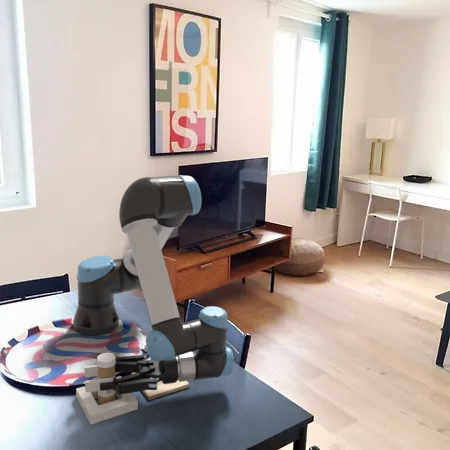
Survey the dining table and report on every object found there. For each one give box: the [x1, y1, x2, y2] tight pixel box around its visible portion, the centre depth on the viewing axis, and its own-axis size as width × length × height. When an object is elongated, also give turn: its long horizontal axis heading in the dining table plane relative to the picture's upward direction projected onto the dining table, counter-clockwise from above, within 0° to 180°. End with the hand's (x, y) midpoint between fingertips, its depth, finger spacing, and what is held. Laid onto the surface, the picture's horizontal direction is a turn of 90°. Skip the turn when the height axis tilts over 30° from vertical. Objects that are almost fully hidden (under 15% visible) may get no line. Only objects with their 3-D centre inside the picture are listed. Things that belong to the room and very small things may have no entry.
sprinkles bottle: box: [96, 352, 117, 406], centre depth 117 cm, size 5×5×13 cm
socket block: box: [75, 375, 139, 425], centre depth 118 cm, size 12×12×2 cm
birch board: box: [131, 373, 190, 401], centre depth 128 cm, size 12×12×1 cm
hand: (85, 379), depth 115 cm, fingers open, 6 cm apart
